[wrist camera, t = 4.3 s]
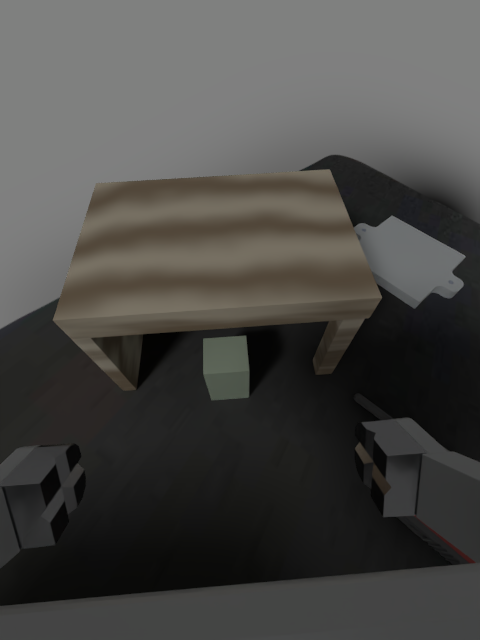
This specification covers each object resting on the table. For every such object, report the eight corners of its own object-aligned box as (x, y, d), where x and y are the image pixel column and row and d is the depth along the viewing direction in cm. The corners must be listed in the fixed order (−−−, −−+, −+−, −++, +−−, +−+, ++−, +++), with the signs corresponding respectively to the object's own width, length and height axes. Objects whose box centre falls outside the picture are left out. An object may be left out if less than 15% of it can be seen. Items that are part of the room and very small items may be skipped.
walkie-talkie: (538, 526, 29) (355, 391, 37) (580, 528, 25) (367, 378, 33) (507, 617, 26) (313, 449, 33) (551, 635, 22) (322, 441, 30)
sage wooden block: (248, 397, 36) (249, 371, 29) (211, 400, 36) (203, 374, 29) (246, 366, 38) (246, 335, 32) (210, 369, 38) (203, 338, 32)
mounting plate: (328, 252, 49) (331, 244, 48) (375, 217, 54) (379, 208, 52) (429, 321, 42) (436, 313, 40) (474, 274, 46) (482, 265, 45)
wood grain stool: (333, 375, 37) (382, 297, 24) (123, 390, 37) (52, 320, 23) (306, 267, 47) (329, 169, 34) (139, 278, 47) (96, 183, 33)
